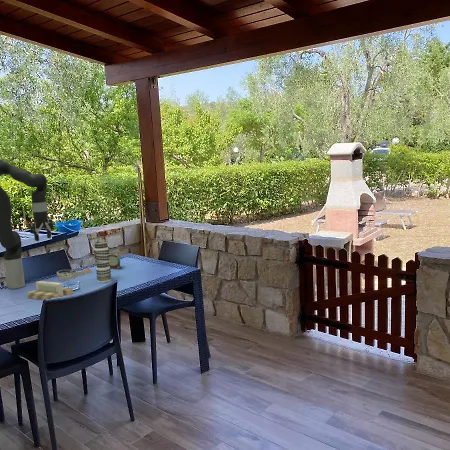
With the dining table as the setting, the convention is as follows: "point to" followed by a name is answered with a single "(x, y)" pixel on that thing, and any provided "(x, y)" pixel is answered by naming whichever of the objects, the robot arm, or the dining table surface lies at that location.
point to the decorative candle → (102, 261)
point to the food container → (114, 261)
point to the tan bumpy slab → (48, 294)
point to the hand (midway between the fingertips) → (43, 239)
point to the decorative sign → (71, 274)
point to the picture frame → (49, 287)
